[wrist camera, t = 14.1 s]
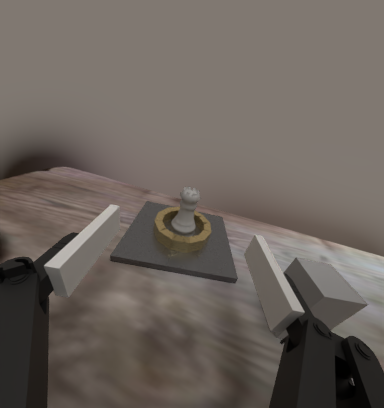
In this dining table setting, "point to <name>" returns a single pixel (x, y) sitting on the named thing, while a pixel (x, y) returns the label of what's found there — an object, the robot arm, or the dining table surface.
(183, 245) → the ring plate
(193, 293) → the dining table surface
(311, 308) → the grey block
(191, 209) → the rook chess piece
